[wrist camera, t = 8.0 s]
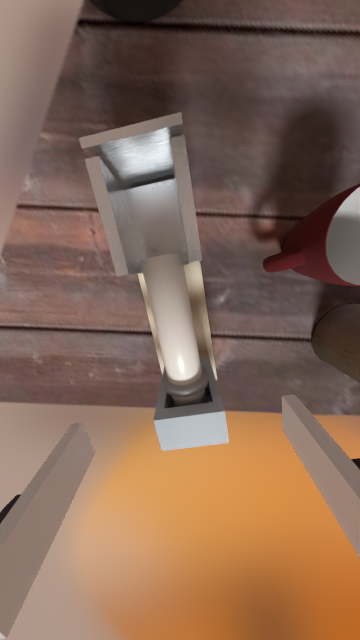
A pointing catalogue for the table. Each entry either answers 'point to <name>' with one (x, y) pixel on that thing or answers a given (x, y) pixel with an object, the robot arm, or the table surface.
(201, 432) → the socket block
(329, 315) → the pillar candle
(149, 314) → the base board
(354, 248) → the mug
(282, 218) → the table surface
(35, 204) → the table surface
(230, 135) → the table surface
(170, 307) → the slip tube
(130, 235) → the grey u-shaped bracket
